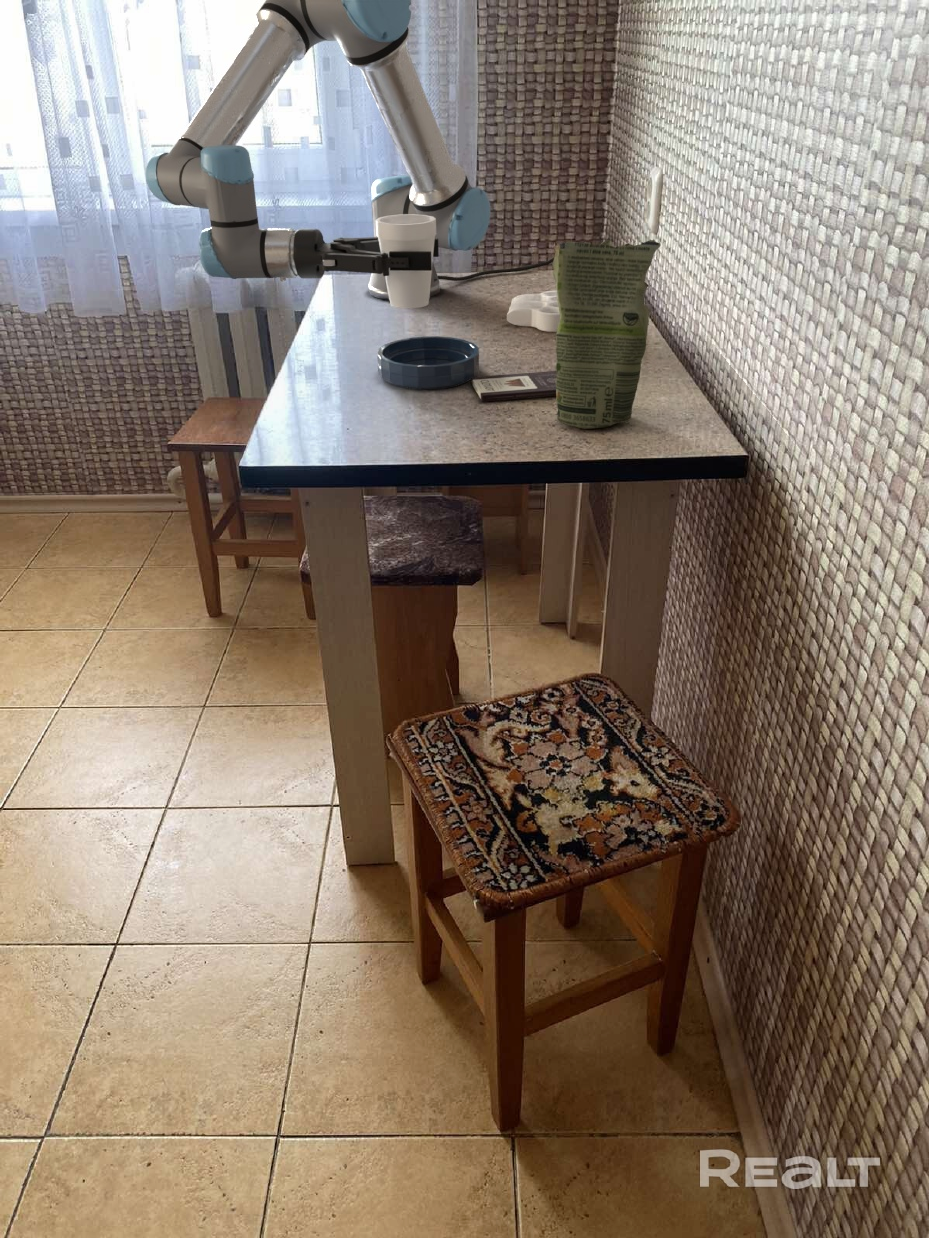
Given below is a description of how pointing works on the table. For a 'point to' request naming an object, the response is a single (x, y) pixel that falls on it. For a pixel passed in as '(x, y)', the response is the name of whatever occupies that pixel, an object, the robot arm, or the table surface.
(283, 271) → the robot arm
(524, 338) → the table surface
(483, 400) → the chocolate bar
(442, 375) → the bowl
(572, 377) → the pouch
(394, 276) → the foam cup
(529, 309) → the white brass knuckles
